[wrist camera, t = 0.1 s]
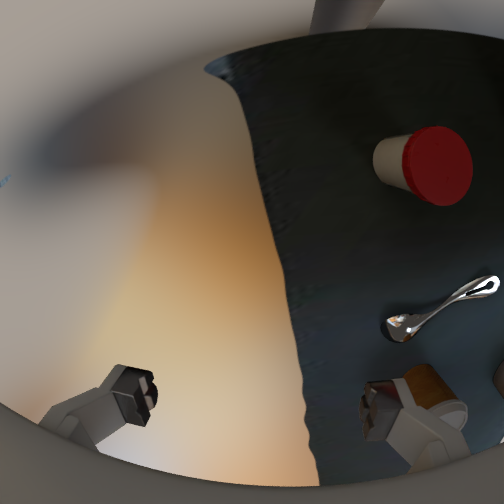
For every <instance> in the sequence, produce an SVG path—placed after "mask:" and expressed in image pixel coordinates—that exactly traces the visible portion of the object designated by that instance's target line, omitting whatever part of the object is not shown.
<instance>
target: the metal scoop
mask: <svg viewBox="0 0 504 504" xmlns="http://www.w3.org/2000/svg"><path fill="white" fill-rule="evenodd" d="M489 281H493V287H492V288H491V289H489V290H487V289H484V290H481V291H478V292H476V293H473V294H470V295H467V296H466V292H469V291H472V290H474V289H477V288H480V287H482V286H485V285H486V284H487V282H489ZM499 284H500V282H499V280H498V278H497V277H496V276H495V275H487V276H484V277H481V278H479V279H476V280H474V281H472V282H470V283H468V284H467V285H465V286H463V287H462V288H460V289H459V290H458V291H456V292H455V293H454V294H453V295H451V296H450V297H449V298H448V299H447V300H446V301H444V302H443V303H442V304H441V305H440V306H438V307H437V308H436V309H434V310H433V311H431V312H429V313H427V314H402V315H398V316H395V317H392V318H389V319H387V320H385V321H384V322H382V324H381V326H380V329H381V332H382V334H383V336H384V337H385V338H386V339H387V340H389V341H391V342H394V343H404V342H407V341H409V340H410V339H412V338H413V337H414V336H415V335H416V334H417V333H418V332H419V331H420V330H421V328H422V327H423V326H424V325H425V324H426V323H427V322H428V321H429V320H430V319H431V318H432V317H433V316H435V315H436V314H437V313H438V312H440V311H441V310H443V309H444V308H446V307H447V306H449V305H451V304H453V303H456V302H459V301H463V300H469V299H476V298H482V297H486V296H489V295H491V294H493V293H494V292H495V291H496V290H497V288H498V286H499Z"/></svg>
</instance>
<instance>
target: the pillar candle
mask: <svg viewBox="0 0 504 504" xmlns="http://www.w3.org/2000/svg"><path fill="white" fill-rule="evenodd" d="M493 383H494V385H495V387H496V388H497V390H498V391H499V393H500V394H501V396H502V397H503V399H504V360H503V362H502V363H501V364H500V366H499V367H498V369H497V371H496V373H495V375H494V380H493Z"/></svg>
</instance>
